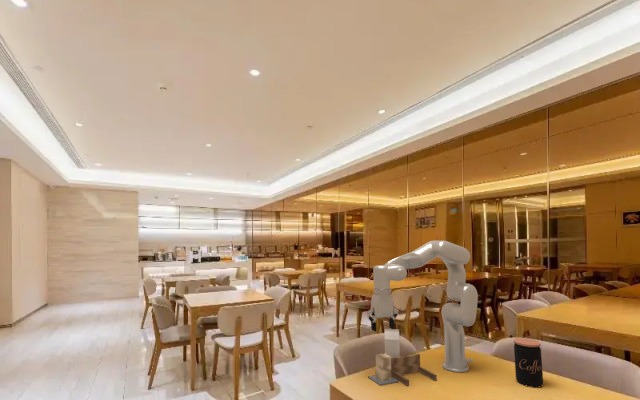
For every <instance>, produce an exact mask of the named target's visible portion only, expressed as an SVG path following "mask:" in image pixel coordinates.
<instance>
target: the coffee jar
mask: <svg viewBox="0 0 640 400" xmlns="http://www.w3.org/2000/svg"><path fill="white" fill-rule="evenodd" d="M513 343H514V344H513V352H514V353H513V354H514V368H515V369H514V370H515V380H516V381H517V383H519V384H520V385H522V384H523V385H522V386H524V385H527V386H526V387H528V386H533V387H532V388H540V387H539V386H541V385H542V386H543V384H544V377H543V376H544V373H543V361H542V360H543V359H542V349H541V347H542V346H541V342H539V341H537V340H536V339H535V340H534V339H532V338H523V337H522V338H519V337H517V338H514V339H513ZM542 386H541V387H542Z"/></svg>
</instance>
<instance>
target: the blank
mask: <svg viewBox="0 0 640 400" xmlns="http://www.w3.org/2000/svg"><path fill="white" fill-rule="evenodd" d="M375 375H376V378H378V379H379V380H381V381H386V380H391V356H389V355H387V354H385V352H384V353H377V354H375Z"/></svg>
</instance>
